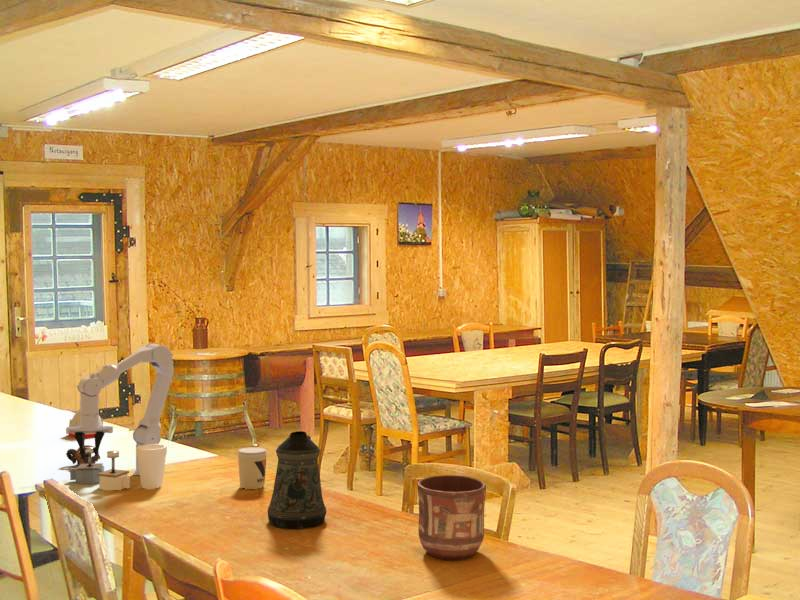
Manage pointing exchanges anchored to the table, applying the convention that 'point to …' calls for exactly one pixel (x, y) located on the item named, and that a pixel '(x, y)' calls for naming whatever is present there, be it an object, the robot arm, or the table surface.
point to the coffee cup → (252, 467)
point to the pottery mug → (81, 459)
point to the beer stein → (297, 485)
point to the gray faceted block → (86, 473)
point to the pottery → (451, 515)
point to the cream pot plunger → (113, 458)
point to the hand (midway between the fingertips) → (89, 454)
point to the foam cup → (151, 464)
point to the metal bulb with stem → (89, 453)
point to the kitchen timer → (76, 422)
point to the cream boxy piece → (114, 480)
